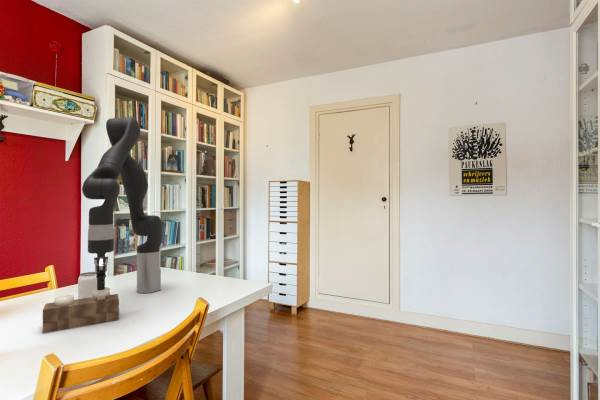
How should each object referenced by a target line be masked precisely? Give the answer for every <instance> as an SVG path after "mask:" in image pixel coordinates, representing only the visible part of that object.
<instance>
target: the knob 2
mask: <svg viewBox="0 0 600 400" xmlns="http://www.w3.org/2000/svg"><path fill="white" fill-rule="evenodd" d="M109 295H111V288H110V287H105V289H104V290H97V289H94V290H92V297H94V298H97V300H104V299H106V296H109Z"/></svg>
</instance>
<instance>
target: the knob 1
mask: <svg viewBox="0 0 600 400" xmlns="http://www.w3.org/2000/svg"><path fill="white" fill-rule="evenodd" d="M74 300H75V296H74V295H73V294H67V295H66V294H65V295H61V296H57V297H55V298H54V300H53V301H54V302H53V303H54V306H67V305H70V304H73V303H74Z"/></svg>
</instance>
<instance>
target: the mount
mask: <svg viewBox="0 0 600 400" xmlns="http://www.w3.org/2000/svg"><path fill="white" fill-rule="evenodd" d="M119 320H120V299H119V293H114V294H110V295H109V296H106V299H104V300H97V298H94V297H90V298H83V299H78V298H77V299H74V303H73V304H70V305H67V306H54V302H46V303H45V304H44V307H43V308H42V334H45V333H52V332H58V331H62V330H68V329H74V328H81V327H85V326H92V325H96V324H103V323H108V322H114V321H115V322H116V321H119Z"/></svg>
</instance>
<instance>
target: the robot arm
mask: <svg viewBox="0 0 600 400" xmlns="http://www.w3.org/2000/svg"><path fill="white" fill-rule="evenodd" d="M105 126H106V127H105V131H106V133H107V137H108V140H109V142H110V145H111V147H110V148H108V149H107V150H106V151H105V152H104V153H103V155H102V156H101V158H100V160H99V162H98V165H97V166H96V168H95V169H94V170H93V171H92V172H91V173H90V174H89V175H88V176H87V177H86V178H85V180H84V181H83V184H82V185H81V187H82V188H81V191H82V194H83V196H84V197H85V198H86V199H88V200H104V202H103V203H102V204H101V205H97V206H93V207H91V208H89V211H88V229H87V253H89V254H95V255H97V256H96V257H94V258H93V264H94V272H96V274H97V276H96V278H97V290H104V289H105V286H106V278H107V275H106V274H107V273H106V272H108V263H109V256H106V254H107V253H112V252H114V251H115V228H114V212H115V207H116V203H117V200H118V198H119V193H120V188H121V187H120V184H119V183H118V181H117V179H118V178H119V176H120V179H121V183H122V185H123V189H124V192H125V195H126V200H127V204H128V211H129V216H130V222H131V228H132V231H133V233H134V234H135V235H136V236H138V237H140V236H141V237H146V241H145V242H144V243H141V244H138V245H137V246H136V292H137V293H139V294H150V293H154V292H157V291H161V290H162V287H161V286H162V285H161V284H162V281H161V280H162V276H161V275H162V269H161V267H160V266H161V246H162V237H163V236H162V234H163V222H162V219H161V217H160V216H158V215H150V214H149V215H147V214H146V213H145V211H144V207H143V205H144V204H143V203H144V200H145V197H146V195H147V192H148V189H149V184H148V179H147V174H146V171H145V169H144V168H143V166H141V164H139V162H137V160H136V159H135V158H133V156H132V155H131V154H130V152H131V151H132V149H133V148H134V146H135V145H136V143H137V142H138V140H139V138H140V136H141V126H140V123H139V121H138V120H137V119H136V118H135V117H129V116H126V117H113V118H108V119H107V120H106V123H105ZM145 214H146V215H145Z"/></svg>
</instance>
